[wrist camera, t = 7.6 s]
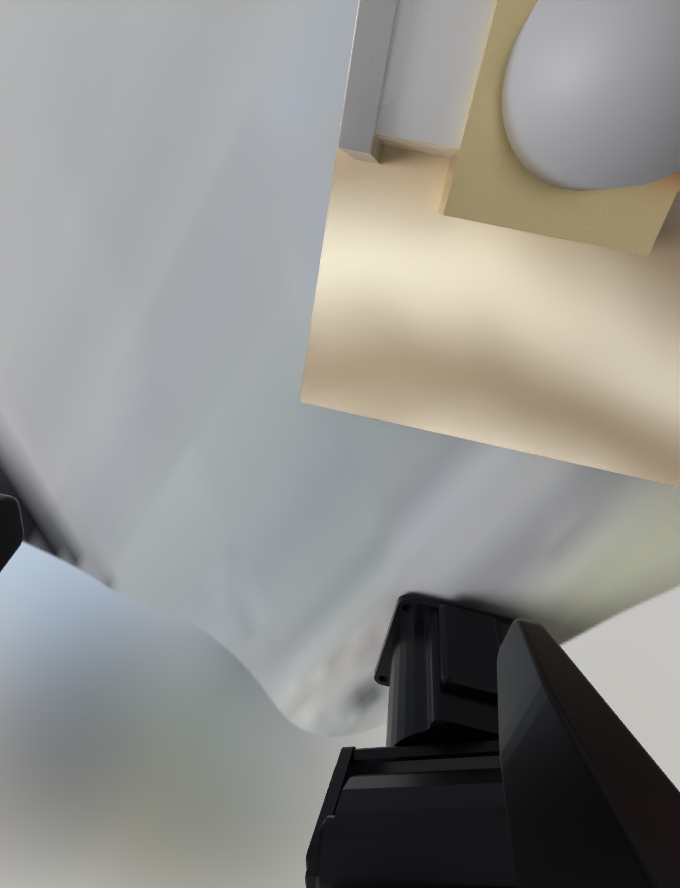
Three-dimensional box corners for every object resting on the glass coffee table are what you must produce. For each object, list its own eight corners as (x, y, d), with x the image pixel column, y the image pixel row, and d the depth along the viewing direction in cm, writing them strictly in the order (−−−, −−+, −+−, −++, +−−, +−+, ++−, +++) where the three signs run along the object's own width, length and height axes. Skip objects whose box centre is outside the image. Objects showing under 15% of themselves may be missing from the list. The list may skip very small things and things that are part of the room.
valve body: (776, 280, 15) (904, 308, 11) (347, 194, 16) (324, 191, 12) (916, 42, 12) (1153, -33, 8) (387, -50, 13) (374, -162, 9)
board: (668, 473, 19) (680, 487, 18) (304, 392, 20) (299, 401, 19) (994, -77, 12) (1042, -100, 11) (391, -175, 12) (389, -205, 11)
